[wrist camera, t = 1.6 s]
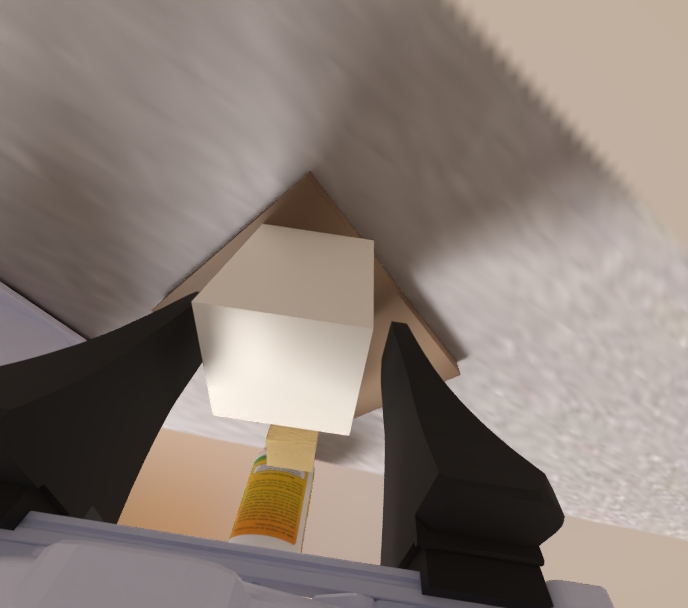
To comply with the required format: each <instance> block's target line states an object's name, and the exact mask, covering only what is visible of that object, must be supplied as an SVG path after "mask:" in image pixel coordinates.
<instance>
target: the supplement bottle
mask: <svg viewBox="0 0 688 608" xmlns="http://www.w3.org/2000/svg"><path fill="white" fill-rule="evenodd" d="M313 479H314V465H313V471H312V472H306V471H300V470H293V469H286V468H280V467H273V466H267V456H266V450H265V451H263V452H261V453H260V454H259V455H258V456H257V457H256V459H255V462H254V465H253V468H252V471H251V474H250V477H249V480H248V483H247V486H246V489H245V492H244V496H243V498H242V501H241V505H240V508H239V511H238V514H237V517H236V520H235V523H234V526H233V529H232V532H231V534H230V538H229V541H228V542H233V543H239V544H246V545H252V546H258V547H265V548H271V549H278V550H284V551H290V552H297V553H302V547H303V541H304V534H305V528H306V521H307V516H308V510H309V504H310V498H311V492H312V486H313Z"/></svg>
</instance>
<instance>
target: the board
mask: <svg viewBox="0 0 688 608" xmlns="http://www.w3.org/2000/svg"><path fill="white" fill-rule="evenodd" d="M262 224H268V225H274V226H281V227H288V228H294V229H301V230H308V231H314V232H321V233H328V234H335V235H341V236H348V237H355V238H361V237H360V236H359V235H358V234H357V232H356V231H355V230H354V228H353V227H352V226H351V224H350V223H349V222H348V220H347V219H346V218H345V217H344V215H343V214H342V213H341V211H340V210H339V209H338V207H337V206H336V205H335V204H334V202H333V201H332V200H331V198H330V197H329V196H328V194H327V193H326V192H325V191H324V189H323V188H322V187H321V185H320V184H319V183H318V181H317V180H316V179H315V177H314V176H313V175H312V174H311V172H309V173H308V174H307V175H305V176H304V177H303V178H302V179H301V180H300V181H299V182H297V183H296V184H295V185H294V186H293V187H292V188H291V189H289V190H288V191H287V192H286V193H285V194H284V195H283V196H281V197H280V198H279V199H278V200H277V201H276V202H274V203H273V204H272V205H271V206H270V207H269V208H268V209H266V210H265V211H264V212H263V213H262V214H261V215H260V216H258V217H257V218H256V219H255V220H254V221H253V222H252V223H250V224H249V225H248V226H247V227H246V228H245V229H244V230H242V231H241V232H240V233H239V234H238V235H237V236H236V237H234V238H233V239H232V240H231V241H230V242H229V243H228V244H226V245H225V246H224V247H223V248H222V249H221V250H219V251H218V252H217V253H216V254H215V255H214V256H213V257H211V258H210V259H209V260H208V261H207V262H206V263H205V264H203V265H202V266H201V267H200V268H199V269H198V270H197V271H195V272H194V273H193V274H192V275H191V276H190V277H189V278H187V279H186V280H185V281H184V282H183V283H182V284H181V285H179V286H178V287H177V288H176V289H175V290H174V291H172V292H171V293H170V294H169V295H168V296H167V297H166V298H164V299H163V300H162V301H161V302H160V303H159V304H158V305H157V306H156V307H155V308H154V309H153V310H152V311H153V312H155V311H157V310H159V309H161V308H163V307H165V306H167V305H169V304H171V303H173V302H175V301H177V300H179V299H181V298H183V297H185V296H187V295H189V294H191V293H194V292H196V291H197V292H201V291H202V290H203V288H204V287H205V286H206V285H207V284H208V283H209V282H210V281H211V280H212V279H213V277H214V276H215V275H216V274H217V273H218V272H219V271H220V270H221V269H222V268H223V267H224V265H225V264H226V263H227V262H228V261H229V260H230V259H231V258H232V257H233V256H234V254H235V253H236V252H237V251H238V250H239V249H240V248H241V247H242V246H243V245H244V244H245V242H246V241H247V240H248V239H249V238H250V237H251V236H252V235H253V234H254V233H255V231H256V230H257V229H258V228H259V227H260V226H261V225H262ZM391 321H394V322H401V323H407V324H408V326H409V328H410V329H411V331H412V333H413V335H414V337H415V338H416V340H417V342H418V343H419V345H420V347H421V348H422V350H423V352H424V353H425V355H426V356H427V358H428V359H429V361H430V363H431V364H432V366H433V367H434V368H435V370H436V371H437V373H438V374H439V375H440V377H441V378H442V379H443V381H446V380H449V379H451V378H454V377H456V376H459V375H460V371H459V368H458V365H457V362H456V361H455V360H454V359H453V357H452V356H451V355H450V353H449V352H448V351H447V349H446V348H445V347H444V346H443V344H442V343H441V342H440V340H439V339H438V338H437V336H436V335H435V334H434V333H433V331H432V330H431V329H430V327H429V326H428V325H427V323H426V322H425V321H424V319H423V318H422V317H421V316H420V314H419V313H418V312H417V310H416V309H415V308H414V306H413V305H412V304H411V303H410V301H409V300H408V299H407V297H406V296H405V295H404V293H403V292H402V291H401V290H400V288H399V287H398V286H397V284H396V283H395V282H394V280H393V279H392V278H391V276H390V275H389V274H388V273H387V271H386V270H385V269H384V267H383V266H382V265H381V263H380V262H379V261H378V260H377V258H376V257H375V256H374V318H373V333H372V337H371V342H370V346H369V351H368V355H367V360H366V364H365V368H364V373H363V377H362V382H361V386H360V390H359V395H358V399H357V404H356V408H355V412H354V417H353V419H354V418H356V417H359V416H361V415H364V414H366V413H369V412H371V411H373V410H376V409H378V408H381V407H382V394H381V359H382V355H383V351H384V347H385V344H386V340H387V336H388V332H389V328H390V325H391ZM320 432H321V431H319V433H320Z"/></svg>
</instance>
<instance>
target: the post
mask: <svg viewBox="0 0 688 608" xmlns="http://www.w3.org/2000/svg"><path fill="white" fill-rule="evenodd" d="M318 436H319V431H314V430H307V429H301V428H294V427H287V426H281V425H274V424H271V425H270V428H269V431H268V434H267V437H266V456H267V466H273V467H280V468H286V469H293V470H300V471H306V472H312V471H313V465H314V459H315V453H316V447H317V442H318Z"/></svg>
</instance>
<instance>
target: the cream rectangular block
mask: <svg viewBox="0 0 688 608" xmlns="http://www.w3.org/2000/svg"><path fill="white" fill-rule="evenodd" d="M192 307H193V313H194V318H195V323H196V328H197V334H198V339H199V344H200V350H201V355H202V360H203V365H204V371H205V376H206V381H207V387H208V392H209V397H210V402H211V408H212V413H213V415H214V416H221V417H227V418H234V419H241V420H247V421H254V422H261V423H267V424H274V425H281V426H287V427H294V428H301V429H307V430H314V431H321V432H327V433H334V434H341V435H347V436H349V434H350V430H351V426H352V421H353V417H354V412H355V408H356V404H357V399H358V395H359V390H360V386H361V382H362V377H363V373H364V368H365V364H366V360H367V355H368V351H369V346H370V342H371V337H372V333H373V318H374V240H368V239H361V238H355V237H348V236H341V235H335V234H328V233H321V232H314V231H308V230H301V229H294V228H288V227H281V226H274V225H268V224H262V225H261V226H260V227H259V228H258V229H257V230H256V231H255V233H254V234H253V235H252V236H251V237H250V238H249V239H248V240H247V241H246V242H245V244H244V245H243V246H242V247H241V248H240V249H239V250H238V251H237V252H236V253H235V254H234V256H233V257H232V258H231V259H230V260H229V261H228V262H227V263H226V264H225V265H224V267H223V268H222V269H221V270H220V271H219V272H218V273H217V274H216V275H215V276H214V277H213V279H212V280H211V281H210V282H209V283H208V284H207V285H206V286H205V287H204V288H203V290H202V291H201V292H200V293H199V294H198V295H197V296H196V297H195V298H194V299H193V300H192Z"/></svg>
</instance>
